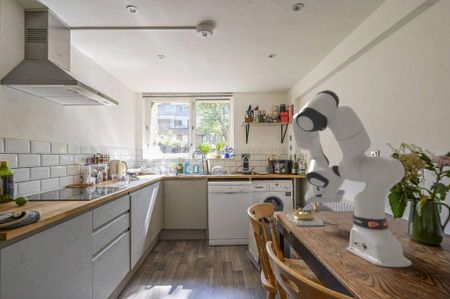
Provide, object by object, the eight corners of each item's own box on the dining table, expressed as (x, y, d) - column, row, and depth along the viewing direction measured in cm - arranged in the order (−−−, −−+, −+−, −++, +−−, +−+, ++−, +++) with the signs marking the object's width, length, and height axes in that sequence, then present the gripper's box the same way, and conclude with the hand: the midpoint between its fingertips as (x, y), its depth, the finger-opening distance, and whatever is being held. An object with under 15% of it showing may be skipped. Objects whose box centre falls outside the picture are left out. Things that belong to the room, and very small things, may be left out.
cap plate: (323, 225, 134) (323, 221, 135) (296, 225, 134) (296, 222, 134) (309, 216, 154) (309, 213, 155) (286, 216, 154) (286, 213, 154)
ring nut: (323, 219, 139) (322, 194, 139) (297, 219, 138) (297, 195, 138) (314, 214, 151) (314, 191, 151) (290, 214, 150) (290, 191, 150)
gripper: (344, 185, 131) (334, 200, 141) (307, 185, 130) (300, 200, 139) (349, 194, 127) (338, 209, 136) (311, 195, 125) (303, 209, 135)
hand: (319, 204), depth 138 cm, fingers closed
